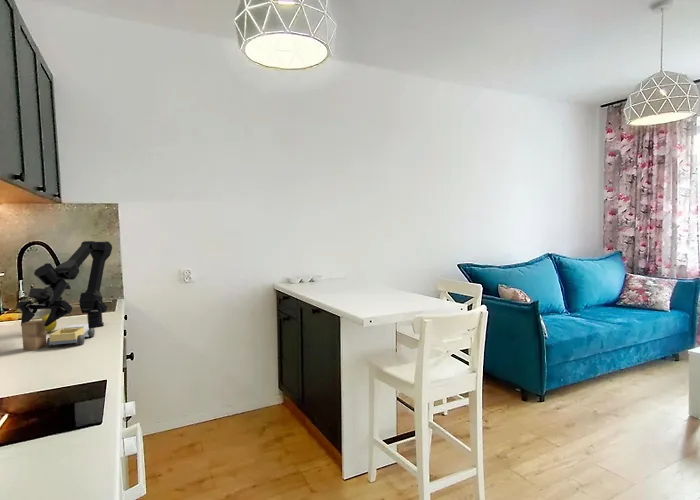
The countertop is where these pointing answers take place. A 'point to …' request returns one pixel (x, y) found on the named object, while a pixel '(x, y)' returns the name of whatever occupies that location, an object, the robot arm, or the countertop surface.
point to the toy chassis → (70, 335)
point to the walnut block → (34, 335)
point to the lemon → (52, 325)
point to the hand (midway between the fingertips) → (33, 326)
